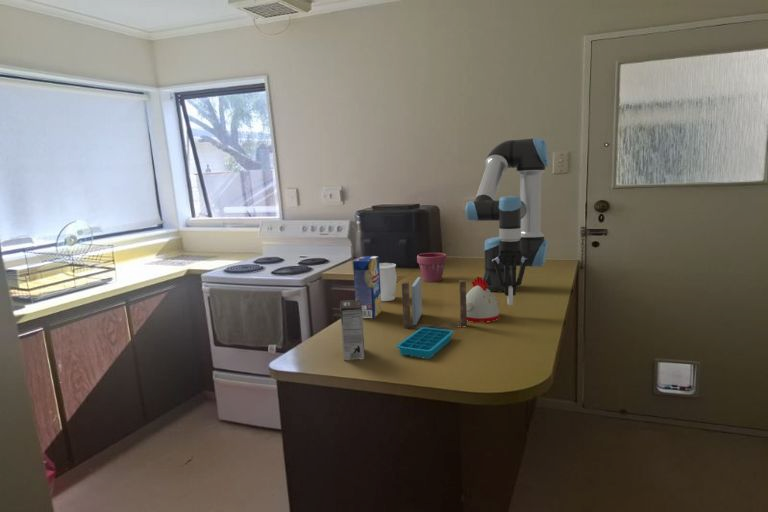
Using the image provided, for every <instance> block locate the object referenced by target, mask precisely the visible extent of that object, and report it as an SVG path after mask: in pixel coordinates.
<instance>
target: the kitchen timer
mask: <svg viewBox="0 0 768 512" xmlns="http://www.w3.org/2000/svg"><path fill="white" fill-rule="evenodd" d="M482 279H483V277H480V276H477V277H476V278H474V279H473V280H474V281H471V285H472V288H470V290H469V291H468V292H466V312H467V320H468V321H473V322H472V323H476V322H486V323H488V322H487V321H492V322H494V321H493V320H496V319H498V318H499V319H500V309H499V305H498V301H499V300H498V298H497V296H495V295H494V294H493V292H490V291H489V290H488V289H487V285H488V283H485V279H483V280H482ZM499 319H498V320H499ZM468 321H467V322H468ZM496 321H497V320H496Z"/></svg>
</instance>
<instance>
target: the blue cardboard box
mask: <svg viewBox="0 0 768 512" xmlns="http://www.w3.org/2000/svg"><path fill="white" fill-rule="evenodd" d="M379 263H380V256H378V255H377V256H376V255H362V256H360V257H358V258H356V259H354V260H352V266H353V267H352V268H353V270H352V271H353V287H354V300H361V305H362V316H363V318H374V319H376V317H377V316H379V314H380V313H382V311H383V310H382V301H381V288H380V268H379Z"/></svg>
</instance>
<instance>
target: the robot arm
mask: <svg viewBox="0 0 768 512" xmlns="http://www.w3.org/2000/svg"><path fill="white" fill-rule="evenodd" d="M548 148H549V147H548V144H547V141H546V140H545V139H544V138H535V137H534V138H524V139H510V140H505V141H502V142H501V143H499V144H497V145H496V146H495V147H494V148H492V150H491V151H490V152H489V153H488V154H487V156H486V159H485V161H484V167H485V169H484V172H483V175H482V179H481V181H480V184H479V187H478V190H477V193H476V196H475V197H474V200H470V201H467V202H466V203H465V209H464V210H465V211H464V212H465V216H466V219H467V220H468V221H474V222H475V221H476V222H479V221H481V222H482V221H484V222H485V221H487V222H488V221H490V222H491V221H492V222H493V221H498V224H499V225H498V226H499V227H498V229H499V230H498V231H499V232H498V236H495V237H490V238H487V239H486V240H485V241H484V249H483V251H484V274H483V277H482V280H483V279H485V283H488V285H487V289H488V290H490V291H505V292H504V295H505V297H507V298H506V299H507V305H508V306H514V297H515V296H516V295H517V286H521V285H522V282H523V278H524V274H525V269H526V267H531V268H535V267H536V268H537V267H543V266H544V264H545V263H546V260H547V254H548V249H549V248H548V247H549V241H548V240H547V239H545V234H543V232H542V231H541V229H542V228H541V227H542V226H541V225H542V224H541V223H542V221H541V220H542V219H541V218H542V216H541V215H542V209H541V208H542V206H541V204H542V174H544V173H545V171H546V167H547V168H548V167H549V165H550V156H549V155H550V154H549V149H548ZM511 168H514V169H515V168H516V173H517V174H518V175H519V196H517V195H507V196H506V195H505V196H501V197H499V199H498V200H496V199H497V195H498V192H499V188H500V186H501V182H502V179H503V175H504V173H505V172H506V171H508V169H511ZM517 267H519V270H518V274H517Z"/></svg>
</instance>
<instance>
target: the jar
mask: <svg viewBox="0 0 768 512" xmlns="http://www.w3.org/2000/svg"><path fill="white" fill-rule="evenodd" d="M396 267H397V264H396V263H392V262H379V268H380V288H381V302H390V301H394V300H395V299H396V297H395V293H396V290H397V280H398V278H397V272H396V271H397V270H396Z"/></svg>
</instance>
